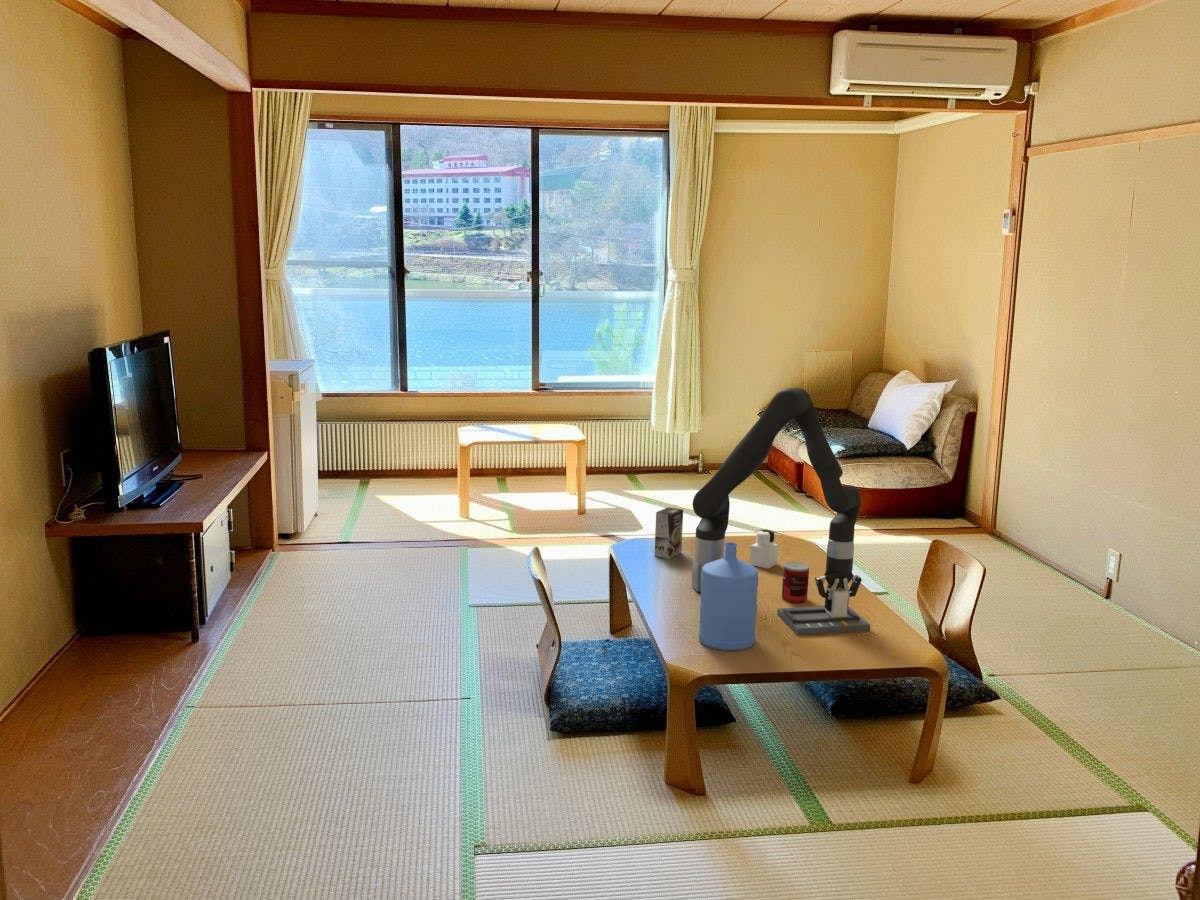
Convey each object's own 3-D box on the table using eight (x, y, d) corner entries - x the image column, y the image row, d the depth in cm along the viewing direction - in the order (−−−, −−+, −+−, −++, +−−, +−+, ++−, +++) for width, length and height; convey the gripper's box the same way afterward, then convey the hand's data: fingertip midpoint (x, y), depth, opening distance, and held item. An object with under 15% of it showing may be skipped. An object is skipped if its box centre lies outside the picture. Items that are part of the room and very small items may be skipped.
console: (797, 635, 285) (797, 624, 284) (777, 614, 300) (777, 604, 300) (869, 631, 289) (870, 620, 288) (846, 611, 304) (847, 601, 304)
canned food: (790, 593, 319) (792, 559, 317) (812, 599, 314) (814, 565, 311) (776, 598, 314) (778, 565, 312) (798, 605, 308) (800, 571, 306)
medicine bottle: (759, 560, 352) (760, 526, 349) (777, 564, 348) (779, 530, 345) (749, 565, 346) (751, 531, 343) (768, 569, 342) (770, 535, 339)
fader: (833, 618, 292) (835, 592, 290) (825, 611, 297) (827, 585, 296) (846, 618, 292) (848, 591, 291) (838, 610, 298) (839, 584, 296)
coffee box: (669, 559, 350) (671, 514, 347) (653, 556, 354) (655, 511, 350) (682, 553, 358) (684, 509, 354) (666, 549, 361) (668, 506, 358)
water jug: (764, 648, 275) (770, 550, 269) (711, 654, 271) (715, 554, 265) (740, 627, 290) (745, 534, 284) (689, 633, 285) (693, 537, 280)
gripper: (821, 559, 286) (818, 616, 290) (868, 557, 289) (864, 613, 292) (811, 551, 293) (808, 606, 297) (857, 549, 296) (853, 604, 299)
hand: (836, 609), depth 295 cm, fingers closed on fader, 4 cm apart
